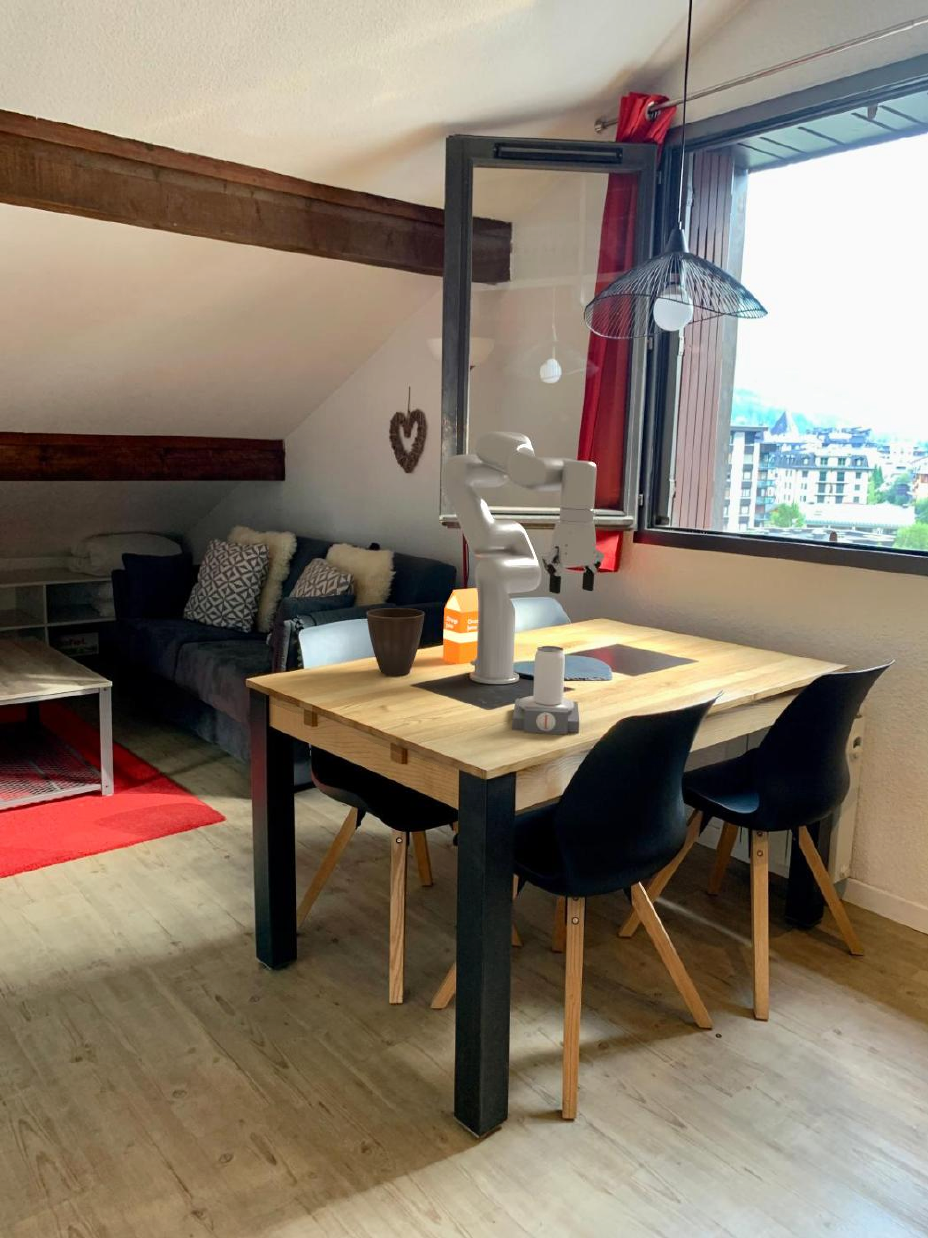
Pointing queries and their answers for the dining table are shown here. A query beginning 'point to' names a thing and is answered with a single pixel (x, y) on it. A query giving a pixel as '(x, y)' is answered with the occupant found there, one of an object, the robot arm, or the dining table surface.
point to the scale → (545, 717)
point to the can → (549, 675)
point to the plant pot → (395, 638)
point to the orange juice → (461, 626)
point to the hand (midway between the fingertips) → (571, 591)
